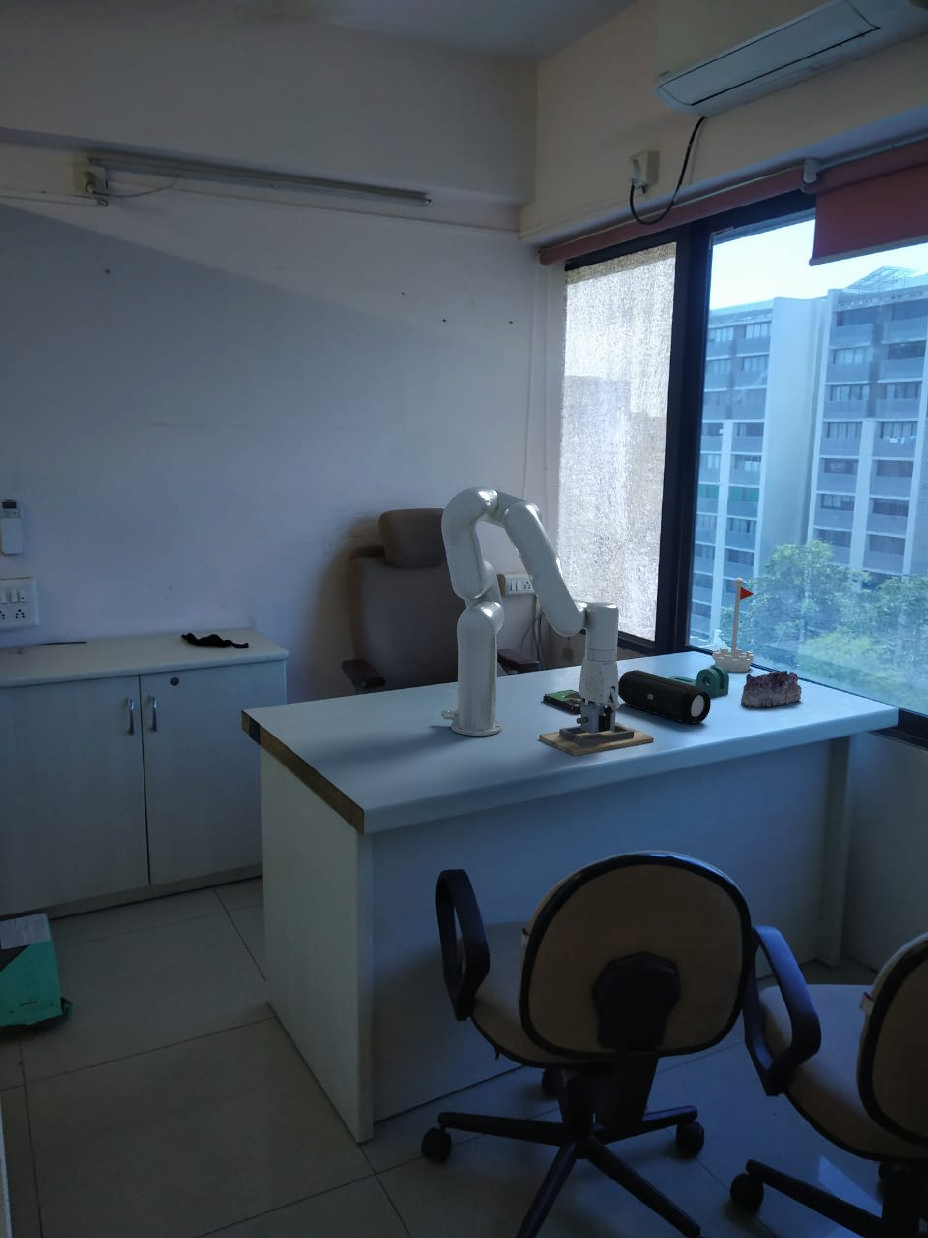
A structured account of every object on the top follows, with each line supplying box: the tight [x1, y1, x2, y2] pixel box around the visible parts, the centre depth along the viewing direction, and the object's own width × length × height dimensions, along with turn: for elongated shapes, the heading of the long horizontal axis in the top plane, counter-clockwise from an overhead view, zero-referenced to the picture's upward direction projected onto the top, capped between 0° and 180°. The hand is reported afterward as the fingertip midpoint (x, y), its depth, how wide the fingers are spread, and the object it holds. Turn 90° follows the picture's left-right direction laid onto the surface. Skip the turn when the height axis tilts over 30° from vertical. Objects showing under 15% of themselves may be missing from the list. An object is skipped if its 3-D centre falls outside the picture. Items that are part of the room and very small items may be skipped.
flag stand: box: [711, 577, 755, 673], centre depth 298 cm, size 13×13×30 cm
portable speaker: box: [618, 669, 712, 725], centre depth 246 cm, size 26×10×10 cm, turn 37°
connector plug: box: [575, 703, 617, 734], centre depth 222 cm, size 4×11×6 cm, turn 120°
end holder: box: [539, 721, 655, 757], centre depth 223 cm, size 14×24×2 cm, turn 120°
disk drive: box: [542, 689, 584, 715], centre depth 253 cm, size 10×3×15 cm
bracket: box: [667, 665, 730, 699], centre depth 272 cm, size 18×7×8 cm, turn 42°
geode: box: [740, 670, 803, 709], centre depth 260 cm, size 20×12×10 cm, turn 127°
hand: (597, 727), depth 222 cm, fingers closed on connector plug, 4 cm apart
